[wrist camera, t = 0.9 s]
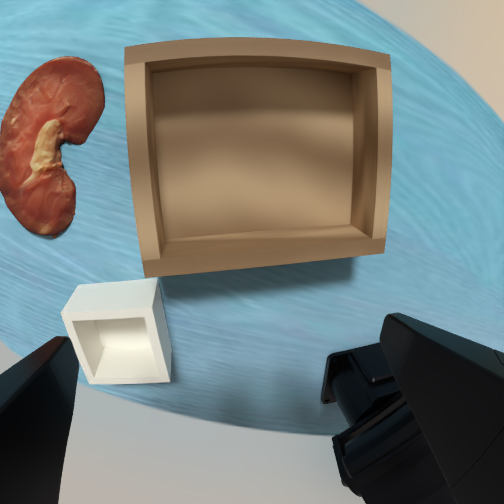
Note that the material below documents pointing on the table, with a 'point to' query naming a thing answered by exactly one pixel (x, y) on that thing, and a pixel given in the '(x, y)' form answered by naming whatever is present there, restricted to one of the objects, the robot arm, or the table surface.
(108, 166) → the table surface
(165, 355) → the cream crate
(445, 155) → the table surface
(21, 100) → the steak
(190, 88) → the walnut crate
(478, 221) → the table surface
